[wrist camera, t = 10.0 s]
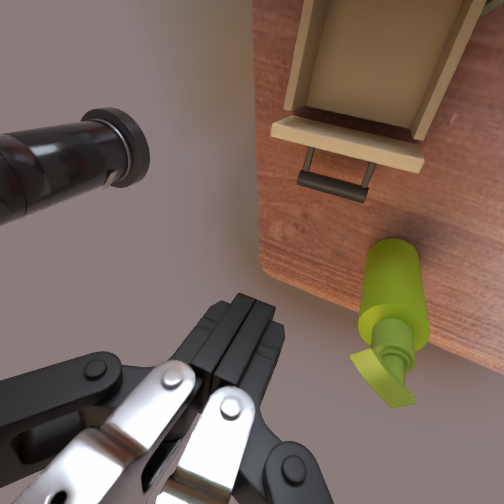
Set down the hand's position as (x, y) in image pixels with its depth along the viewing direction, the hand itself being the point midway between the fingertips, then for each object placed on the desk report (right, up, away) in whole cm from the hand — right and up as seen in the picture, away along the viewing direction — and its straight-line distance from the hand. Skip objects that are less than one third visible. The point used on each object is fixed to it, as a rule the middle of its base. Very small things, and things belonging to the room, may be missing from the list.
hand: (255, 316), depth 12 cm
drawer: (+11, +19, +18) cm, 28 cm away
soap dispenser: (+17, +2, +26) cm, 31 cm away
